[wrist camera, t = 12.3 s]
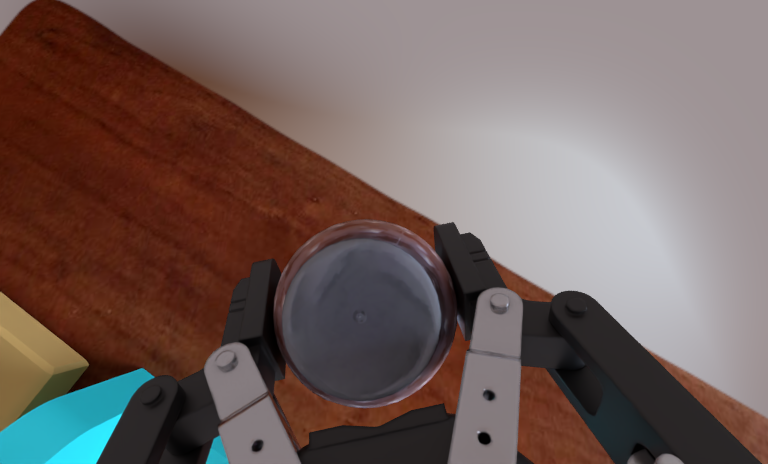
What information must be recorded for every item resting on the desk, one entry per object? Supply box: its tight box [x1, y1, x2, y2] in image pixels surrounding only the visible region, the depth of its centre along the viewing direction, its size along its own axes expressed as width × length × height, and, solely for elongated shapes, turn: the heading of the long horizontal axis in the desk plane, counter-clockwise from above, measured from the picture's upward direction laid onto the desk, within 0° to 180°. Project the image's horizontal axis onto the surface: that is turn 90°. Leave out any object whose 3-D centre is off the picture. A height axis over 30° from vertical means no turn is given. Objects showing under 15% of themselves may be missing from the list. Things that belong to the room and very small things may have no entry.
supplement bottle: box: [273, 219, 458, 408], centre depth 15 cm, size 6×6×11 cm
